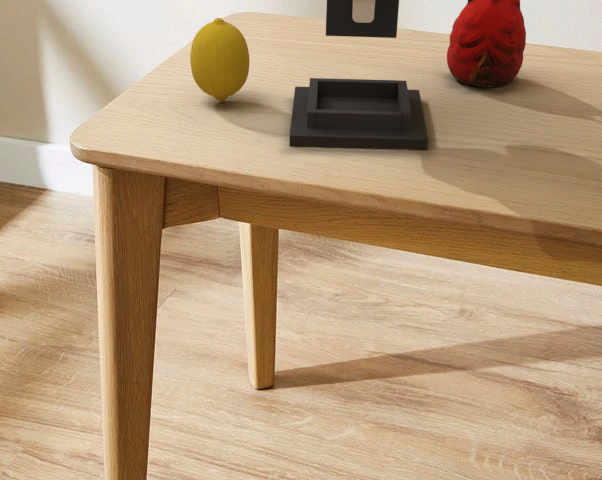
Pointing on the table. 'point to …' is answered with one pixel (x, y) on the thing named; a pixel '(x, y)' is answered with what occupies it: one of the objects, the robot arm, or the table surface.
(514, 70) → the red clay folk toy
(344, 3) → the plug pad
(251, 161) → the table surface
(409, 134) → the socket pad
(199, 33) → the lemon
